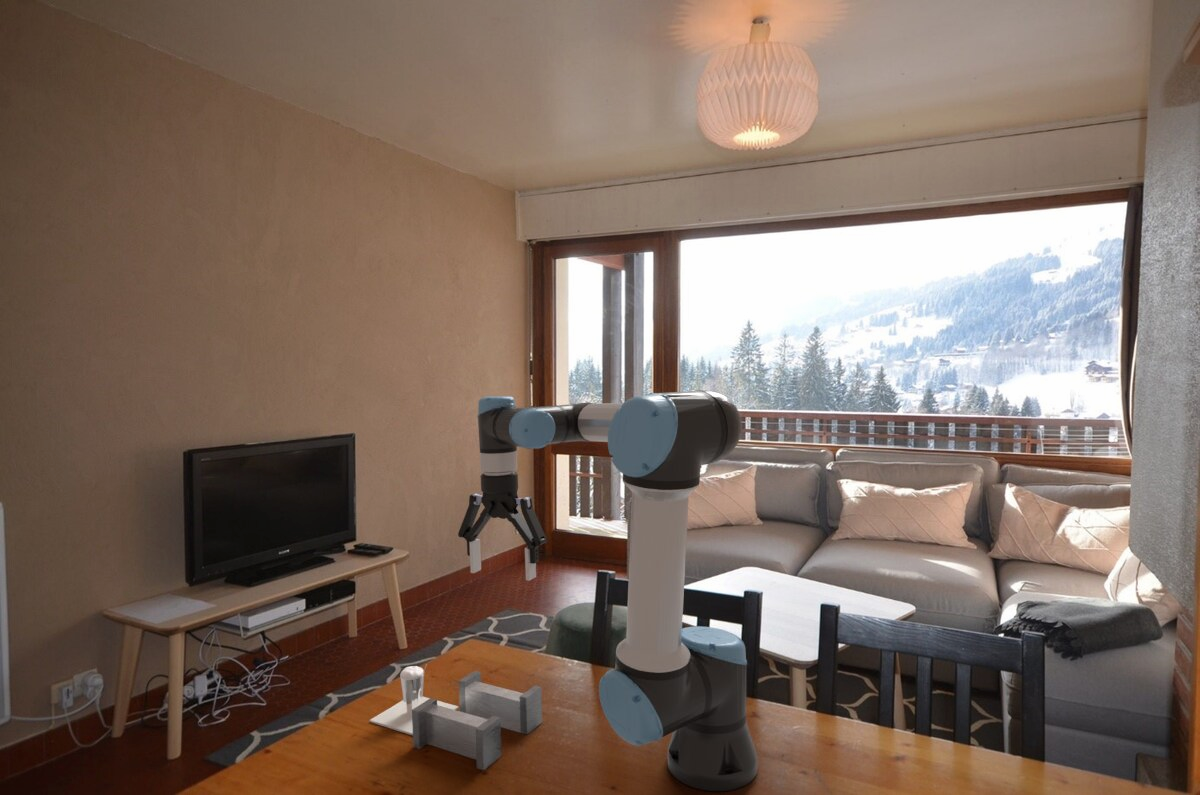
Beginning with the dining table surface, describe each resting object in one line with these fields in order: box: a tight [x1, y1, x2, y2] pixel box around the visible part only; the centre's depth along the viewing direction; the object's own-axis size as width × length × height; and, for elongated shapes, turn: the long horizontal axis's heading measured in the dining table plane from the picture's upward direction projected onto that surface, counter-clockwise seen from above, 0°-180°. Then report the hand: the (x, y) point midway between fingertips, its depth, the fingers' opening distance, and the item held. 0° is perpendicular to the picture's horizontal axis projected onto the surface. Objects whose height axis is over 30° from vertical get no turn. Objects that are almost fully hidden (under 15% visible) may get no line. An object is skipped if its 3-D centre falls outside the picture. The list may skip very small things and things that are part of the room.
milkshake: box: [399, 664, 428, 717], centre depth 144 cm, size 4×5×10 cm
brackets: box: [412, 670, 543, 771], centre depth 137 cm, size 16×18×7 cm
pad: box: [369, 696, 460, 736], centre depth 145 cm, size 12×12×1 cm
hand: (503, 575), depth 150 cm, fingers open, 13 cm apart
